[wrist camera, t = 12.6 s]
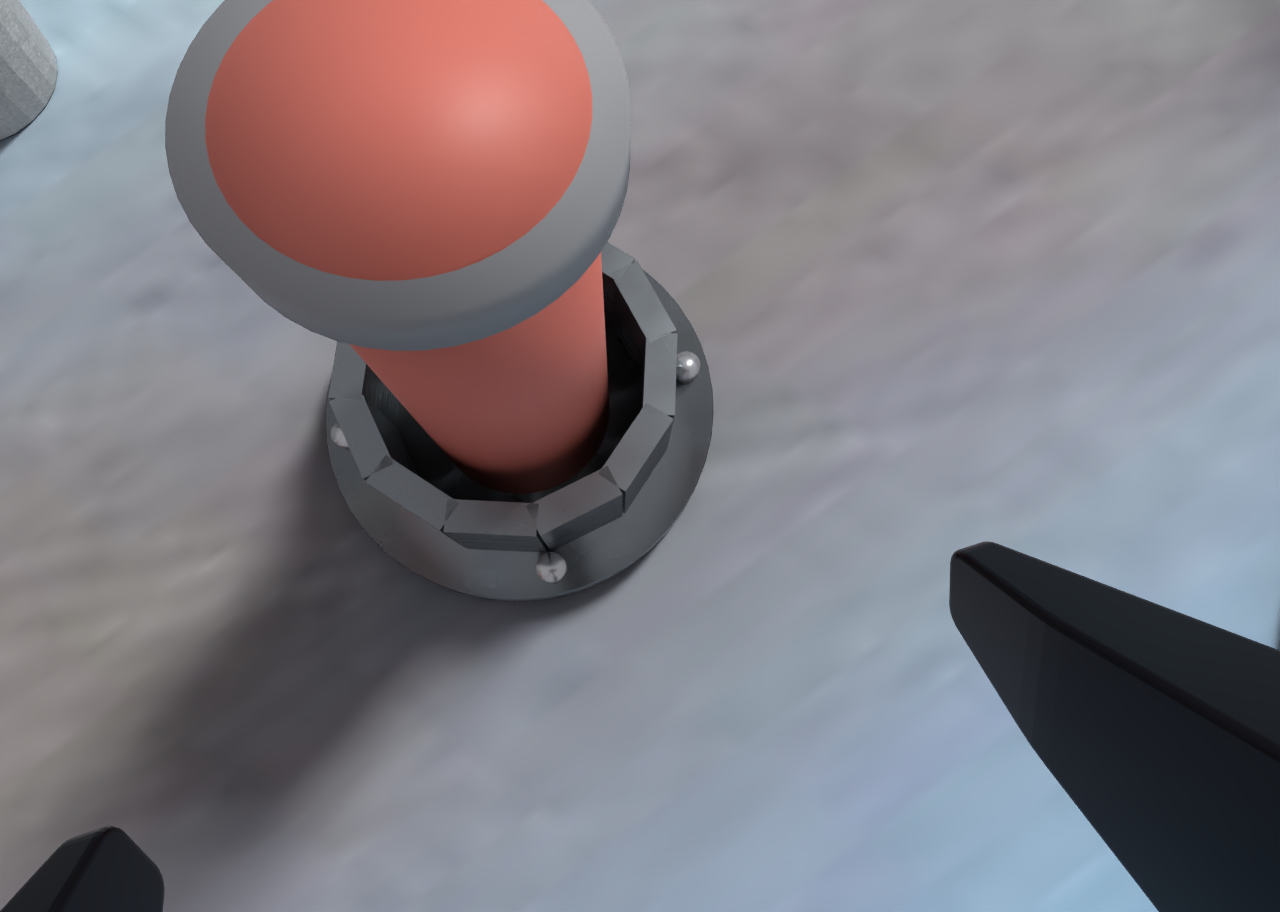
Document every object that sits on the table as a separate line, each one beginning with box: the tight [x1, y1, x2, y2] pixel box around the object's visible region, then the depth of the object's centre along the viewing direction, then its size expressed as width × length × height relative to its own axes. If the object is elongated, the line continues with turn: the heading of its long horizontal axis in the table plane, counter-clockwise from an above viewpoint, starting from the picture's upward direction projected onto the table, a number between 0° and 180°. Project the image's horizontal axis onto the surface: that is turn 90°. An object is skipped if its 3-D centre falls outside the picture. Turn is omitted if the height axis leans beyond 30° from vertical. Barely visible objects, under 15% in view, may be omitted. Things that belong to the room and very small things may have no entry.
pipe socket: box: [326, 242, 713, 601], centre depth 21 cm, size 11×11×4 cm
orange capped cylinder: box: [165, 0, 631, 494], centre depth 16 cm, size 6×6×12 cm
